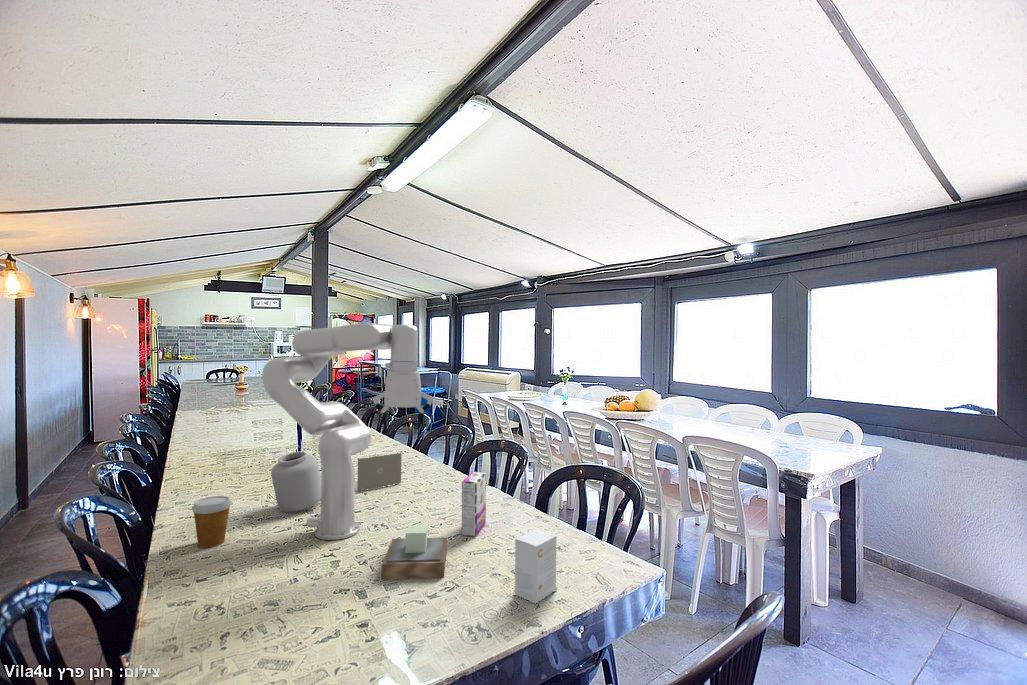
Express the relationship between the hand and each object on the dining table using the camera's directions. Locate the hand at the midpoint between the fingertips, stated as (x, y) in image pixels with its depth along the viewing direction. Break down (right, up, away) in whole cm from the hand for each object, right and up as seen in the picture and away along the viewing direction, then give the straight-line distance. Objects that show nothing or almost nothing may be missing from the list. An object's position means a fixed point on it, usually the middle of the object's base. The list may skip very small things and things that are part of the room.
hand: (402, 426), depth 135 cm
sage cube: (+7, -29, -13) cm, 33 cm away
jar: (-43, -33, +25) cm, 60 cm away
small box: (+37, -34, -27) cm, 57 cm away
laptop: (-25, -34, +54) cm, 68 cm away
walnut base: (+7, -33, -13) cm, 37 cm away
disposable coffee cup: (-53, -33, -3) cm, 63 cm away
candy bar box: (+20, -34, +10) cm, 40 cm away
